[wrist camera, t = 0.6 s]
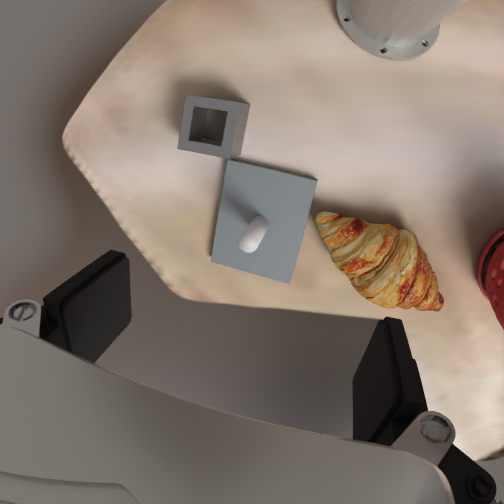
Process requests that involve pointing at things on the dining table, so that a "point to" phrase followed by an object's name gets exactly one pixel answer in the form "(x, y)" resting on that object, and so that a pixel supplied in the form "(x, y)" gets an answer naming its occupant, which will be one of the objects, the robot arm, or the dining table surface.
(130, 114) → the dining table surface
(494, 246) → the plant pot
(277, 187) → the keeper
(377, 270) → the croissant
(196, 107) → the grey hollow block
